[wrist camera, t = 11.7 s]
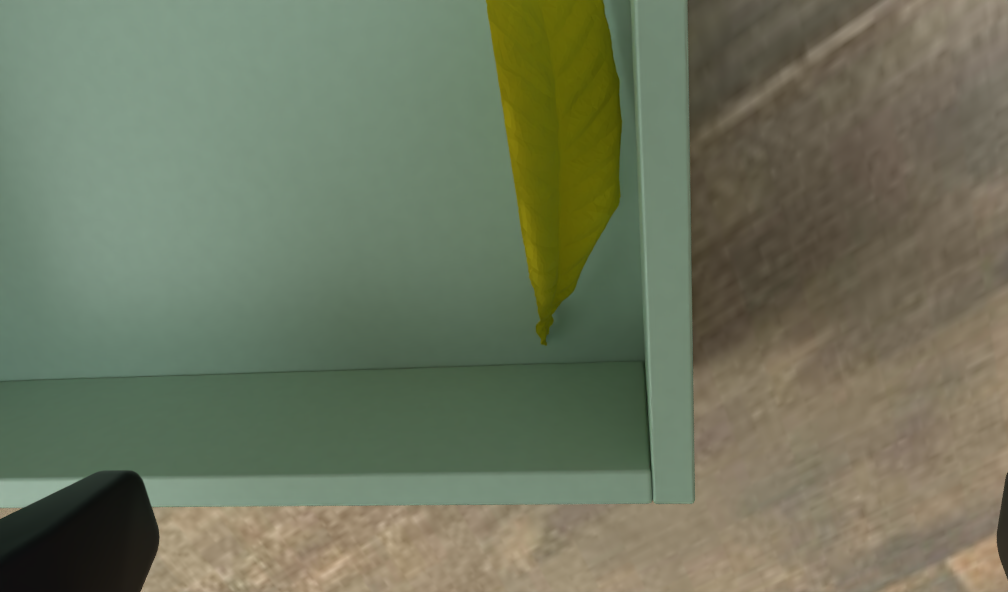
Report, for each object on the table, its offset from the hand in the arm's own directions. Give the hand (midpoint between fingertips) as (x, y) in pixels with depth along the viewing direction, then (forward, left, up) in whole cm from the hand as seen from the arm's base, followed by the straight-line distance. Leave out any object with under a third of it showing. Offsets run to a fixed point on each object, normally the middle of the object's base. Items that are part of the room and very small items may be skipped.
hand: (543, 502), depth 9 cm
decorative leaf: (0, -1, -11) cm, 11 cm away
